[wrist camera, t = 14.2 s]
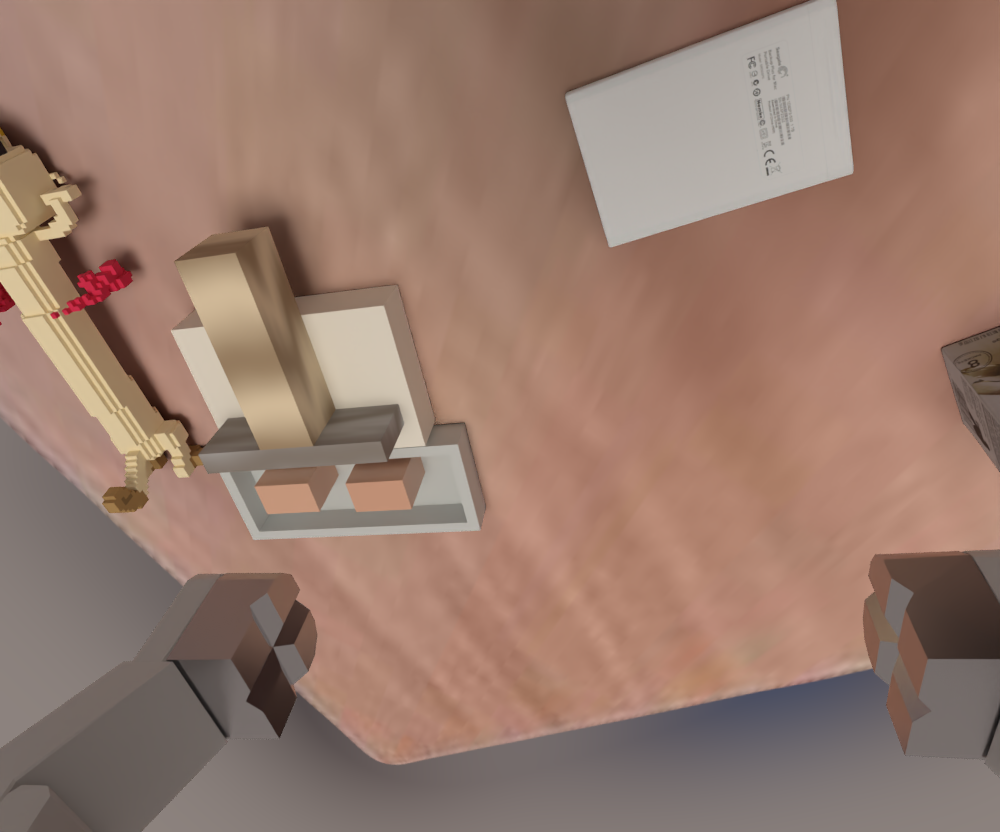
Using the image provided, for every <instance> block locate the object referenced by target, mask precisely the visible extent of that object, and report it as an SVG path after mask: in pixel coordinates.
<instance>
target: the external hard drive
mask: <svg viewBox="0 0 1000 832" xmlns="http://www.w3.org/2000/svg"><path fill="white" fill-rule="evenodd" d="M565 99H566V102H567V106H568V109H569V113H570V116H571V120H572V123H573V126H574V130H575V133H576V137H577V140H578V143H579V147H580V150H581V153H582V157H583V160H584V164H585V167H586V170H587V174H588V177H589V181H590V184H591V187H592V191H593V194H594V198H595V201H596V204H597V208H598V212H599V215H600V218H601V222H602V225H603V229H604V232H605V235H606V238H607V242H608V245H609V247H614V246H617V245H621V244H624V243H627V242H631V241H634V240H637V239H640V238H644V237H647V236H650V235H653V234H656V233H660V232H663V231H666V230H669V229H673V228H676V227H679V226H683V225H686V224H689V223H692V222H696V221H699V220H702V219H705V218H709V217H712V216H715V215H719V214H722V213H725V212H729V211H732V210H735V209H738V208H742V207H745V206H748V205H751V204H755V203H758V202H761V201H765V200H768V199H771V198H775V197H778V196H781V195H784V194H787V193H791V192H794V191H798V190H801V189H804V188H807V187H811V186H814V185H817V184H820V183H824V182H827V181H830V180H834V179H837V178H840V177H843V176H847V175H851V174H853V157H852V148H851V138H850V130H849V120H848V110H847V101H846V90H845V80H844V71H843V61H842V50H841V41H840V31H839V21H838V10H837V3H836V0H810V1H807V2H805V3H802V4H799V5H796V6H793V7H791V8H788V9H786V10H783V11H780V12H778V13H775V14H772V15H770V16H767V17H765V18H762V19H759V20H757V21H754V22H751V23H749V24H746V25H744V26H741V27H738V28H736V29H733V30H730V31H727V32H725V33H722V34H719V35H717V36H714V37H711V38H709V39H706V40H704V41H701V42H698V43H696V44H693V45H690V46H688V47H685V48H683V49H680V50H677V51H675V52H672V53H670V54H667V55H664V56H662V57H659V58H656V59H654V60H651V61H648V62H646V63H643V64H641V65H638V66H635V67H633V68H630V69H627V70H625V71H622V72H619V73H617V74H614V75H612V76H609V77H606V78H604V79H601V80H598V81H595V82H593V83H590V84H588V85H585V86H582V87H580V88H577V89H575V90H572V91H569V92H567V93H566V95H565Z"/></svg>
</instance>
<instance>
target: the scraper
mask: <svg viewBox="0 0 1000 832" xmlns="http://www.w3.org/2000/svg"><path fill="white" fill-rule="evenodd" d="M174 263H175V265H176V267H177V269H178V271H179V274H180V276H181V278H182V280H183V282H184V285H185V287H186V289H187V291H188V293H189V295H190V298H191V300H192V302H193V304H194V306H195V309H196V311H197V313H198V315H199V317H200V320H201V322H202V324H203V326H204V328H205V330H206V333H207V335H208V337H209V339H210V341H211V344H212V346H213V348H214V350H215V352H216V355H217V357H218V359H219V361H220V363H221V366H222V368H223V370H224V372H225V374H226V376H227V379H228V381H229V383H230V385H231V387H232V390H233V392H234V394H235V396H236V398H237V401H238V403H239V405H240V407H241V409H242V411H243V414H244V416H245V417H238V418H228V419H227V420H226V421H225V423H224V424H223V425H222V426H221V427H220V429H219V430H218V431H217V432H216V434H215V435H214V436H213V437H212V438H211V440H210V441H209V442H208V443H207V444H206V446H205V447H204V448H203V449H202V450H201V452H200V453H199V454H198V455H199V457H200V459H201V461H202V463H203V465H204V467H205V469H206V471H207V473H208V474H210V473H225V472H240V471H256V470H271V469H286V468H302V467H317V466H332V465H348V464H363V463H378V462H388V460H389V457H390V455H391V453H392V451H393V448H394V446H395V444H396V442H397V439H398V437H399V435H400V432H401V430H402V428H403V426H404V421H403V417H402V414H401V411H400V408H399V405H398V404H392V405H380V406H368V407H357V408H345V409H335V406H334V403H333V400H332V398H331V395H330V392H329V390H328V387H327V384H326V381H325V379H324V376H323V373H322V371H321V368H320V365H319V362H318V360H317V357H316V354H315V352H314V349H313V346H312V344H311V341H310V338H309V335H308V333H307V330H306V327H305V325H304V322H303V319H302V316H301V314H300V311H299V308H298V306H297V303H296V300H295V297H294V295H293V292H292V289H291V287H290V284H289V281H288V279H287V276H286V273H285V270H284V268H283V265H282V262H281V260H280V257H279V254H278V251H277V249H276V246H275V243H274V241H273V238H272V235H271V232H270V230H269V227H262V228H255V229H248V230H242V231H235V232H228V233H222V234H215V235H211V236H210V237H208V238H207V239H205V240H204V241H202V242H201V243H200V244H198V245H197V246H195V247H194V248H193V249H191V250H190V251H188V252H187V253H185V254H184V255H183V256H181V257H180V258H178V259H177V260H175V261H174Z"/></svg>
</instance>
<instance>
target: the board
mask: <svg viewBox="0 0 1000 832" xmlns="http://www.w3.org/2000/svg"><path fill="white" fill-rule="evenodd" d="M295 300H296V303H297V306H298V308H299V311H300V314H301V316H302V319H303V322H304V325H305V327H306V330H307V333H308V335H309V338H310V341H311V344H312V346H313V349H314V352H315V354H316V357H317V360H318V362H319V365H320V368H321V371H322V373H323V376H324V379H325V381H326V384H327V387H328V390H329V392H330V395H331V398H332V400H333V403H334V406H335V409H345V408H357V407H368V406H380V405H392V404H398V405H399V408H400V411H401V414H402V417H403V421H404V426H403V428H402V430H401V432H400V435H399V437H398V439H397V442H396V444H395V446H394V448H405V447H419V446H426V443H427V441H428V438H429V435H430V433H431V430H432V428H433V425H434V422H435V417H434V414H433V410H432V406H431V403H430V399H429V396H428V392H427V389H426V385H425V381H424V378H423V374H422V371H421V367H420V364H419V360H418V356H417V353H416V349H415V346H414V342H413V338H412V335H411V331H410V328H409V324H408V321H407V317H406V313H405V310H404V306H403V303H402V299H401V296H400V292H399V288H398V285H391V286H382V287H374V288H366V289H358V290H350V291H342V292H334V293H326V294H318V295H310V296H302V297H295ZM171 332H172V334H173V336H174V338H175V340H176V342H177V344H178V346H179V349H180V351H181V353H182V355H183V357H184V359H185V361H186V363H187V365H188V367H189V369H190V371H191V373H192V375H193V377H194V379H195V381H196V383H197V385H198V388H199V390H200V392H201V394H202V396H203V398H204V400H205V402H206V404H207V406H208V408H209V410H210V412H211V414H212V416H213V418H214V420H215V422H216V424H217V427H218V429H220V427H221V426H222V425H223V424H224V423H225V421H226V420H227V419H228V418H238V417H245V416H244V414H243V411H242V409H241V407H240V405H239V403H238V401H237V398H236V396H235V394H234V392H233V390H232V387H231V385H230V383H229V381H228V379H227V376H226V374H225V372H224V370H223V368H222V366H221V363H220V361H219V359H218V357H217V355H216V352H215V350H214V348H213V346H212V344H211V341H210V339H209V337H208V335H207V333H206V330H205V328H204V326H203V324H202V322H201V320H200V317H199V315H198V313H197V311H196V310H194V311H193V312H192V313H191V314H189V315H188V316H187V317H186V318H185V319H184V320H182V321H181V322H180V323H179V324H178V325H177V326H175V327H174V328H173V329H172V330H171Z"/></svg>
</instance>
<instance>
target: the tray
mask: <svg viewBox="0 0 1000 832" xmlns="http://www.w3.org/2000/svg"><path fill="white" fill-rule="evenodd" d="M411 457H421V460H422V463H423V466H424V470H425V474H424V477H423V480H422V483H421V485H420V488H419V491H418V494H417V496H416V499H415V502H414V505H413V507H412V509H408V510H388V511H368V512H356V510H355V507H354V505H353V502H352V500H351V497H350V494H349V492H348V489H347V487H346V484H345V483H346V481H347V479H348V477H349V475H350V473H351V471H352V469H353V468H354V466H355V464H348V465H335V467H336V469H337V472H338V474H339V476H338V478H337V480H336V482H335V484H334V485H333V487H332V489H331V491H330V493H329V495H328V497H327V499H326V501H325V503H324V504H323V506H322V508H321V510H320V512H302V513H282V514H267V512H266V510H265V508H264V506H263V504H262V502H261V500H260V498H259V496H258V494H257V491H256V489H255V487H254V486H255V485H256V483H257V482H258V480H259V479H260V477H261V476H262V474H263V473H264V471H265V470H256V471H240V472H225V473H220V475H221V477H222V479H223V481H224V483H225V485H226V486H227V488H228V490H229V492H230V494H231V496H232V498H233V500H234V502H235V504H236V506H237V508H238V510H239V512H240V514H241V516H242V518H243V520H244V522H245V524H246V526H247V528H248V530H249V532H250V534H251V536H252V538H253V540H262V539H286V538H310V537H334V536H358V535H383V534H407V533H431V532H455V531H479V530H481V526H482V522H483V518H484V513H485V509H486V506H485V502H484V498H483V494H482V490H481V486H480V482H479V478H478V474H477V470H476V466H475V462H474V458H473V454H472V450H471V446H470V442H469V438H468V434H467V430H466V426H465V423H456V424H443V425H433V428H432V430H431V433H430V435H429V438H428V441H427V443H426V446H419V447H405V448H393V451H392V453H391V455H390V457H389V459H395V458H411Z"/></svg>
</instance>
